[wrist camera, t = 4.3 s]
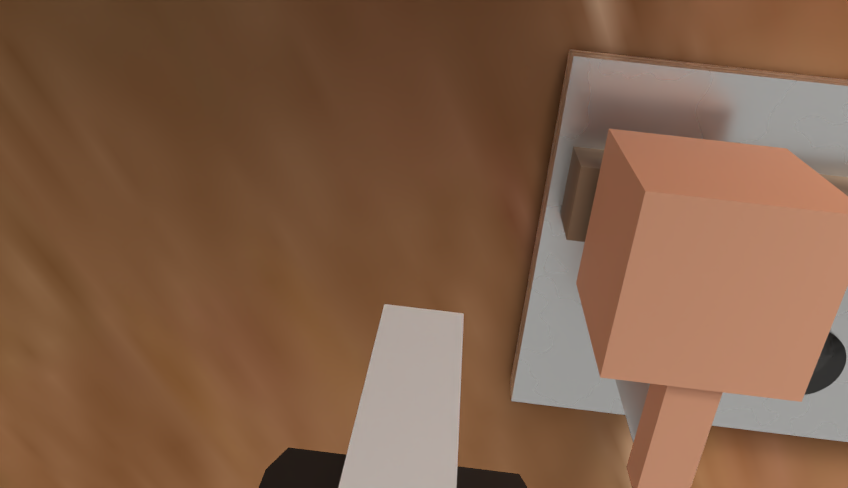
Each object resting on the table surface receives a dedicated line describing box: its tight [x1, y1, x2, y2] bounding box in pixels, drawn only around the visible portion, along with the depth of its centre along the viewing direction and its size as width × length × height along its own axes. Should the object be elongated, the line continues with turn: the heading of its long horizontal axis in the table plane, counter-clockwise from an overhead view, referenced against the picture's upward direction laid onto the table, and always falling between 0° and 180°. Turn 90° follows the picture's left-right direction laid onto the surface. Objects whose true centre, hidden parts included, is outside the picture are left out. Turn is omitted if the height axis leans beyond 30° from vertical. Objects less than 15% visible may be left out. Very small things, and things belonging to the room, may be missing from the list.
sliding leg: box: [576, 129, 848, 488], centre depth 21 cm, size 5×9×7 cm, turn 174°
